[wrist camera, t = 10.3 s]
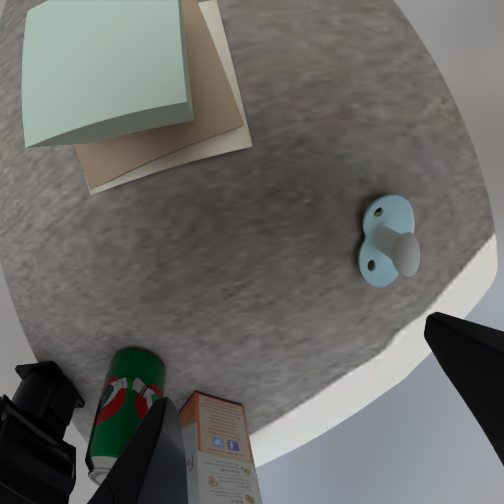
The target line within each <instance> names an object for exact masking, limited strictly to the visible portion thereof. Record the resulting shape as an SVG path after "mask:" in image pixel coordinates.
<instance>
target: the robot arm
mask: <svg viewBox="0 0 504 504" xmlns="http://www.w3.org/2000/svg"><path fill="white" fill-rule="evenodd" d="M424 337H425V340H426V341H427V343H428V345H429V347H430V348H431V350H432V352H433V353H434V355H435V357H436V359H437V360H438V362H439V364H440V366H441V367H442V369H443V371H444V372H445V374H446V375H447V376H448V378H449V379H450V381H451V382H452V384H453V385H454V386H455V388H456V389H457V391H458V392H459V394H460V395H461V397H462V398H463V400H464V401H465V403H466V404H467V406H468V407H469V409H470V410H471V412H472V413H473V415H474V417H475V418H476V420H477V421H478V423H479V424H480V426H481V428H482V429H483V431H484V432H485V434H486V436H487V438H488V439H489V441H490V443H491V444H492V446H493V448H494V450H495V452H496V453H497V455H498V457H499V459H500V460H501V462H502V464H503V466H504V332H503V331H500V330H496V329H493V328H490V327H487V326H483V325H480V324H476V323H473V322H470V321H467V320H463V319H460V318H457V317H453V316H450V315H447V314H443V313H440V312H434V313H432V314H430V315H429V316H428V317H427V319H426V324H425V330H424ZM15 370H16V372H17V373H18V375H19V376H20V377H21V379H22V381H21V383H20V385H19V387H18V389H17V391H16V393H15V395H14V397H13V399H12V401H11V400H10V399H9V398H8V397H7V396H6V395H5V394H4V395H3V396H2V397H0V504H68V502H69V495H70V494H71V492H72V491H73V488H74V486H75V482H76V447H74V446H73V445H70V444H68V443H67V442H65V441H63V437H64V434H65V430H66V427H67V426H69V424H70V421H71V418H72V415H73V411H74V408H84V405H85V403H84V401H83V400H82V399H81V398H80V396H79V395H78V394H77V393H76V391H75V390H74V389H73V388H72V386H71V385H70V384H69V382H68V381H67V380H66V378H65V377H64V375H63V374H62V373H61V371H60V370H59V368H58V367H57V365H56V364H55V363H53V362H44V363H35V364H26V365H17V366H16V368H15ZM87 504H189V503H188V488H187V469H186V454H185V448H184V441H183V435H182V428H181V421H180V415H179V412H178V411H177V409H176V408H175V406H174V404H173V403H172V401H171V400H170V399H169V398H168V397H163V398H157V399H156V400H155V401H154V402H153V404H152V405H151V407H150V408H149V410H148V411H147V413H146V415H145V416H144V418H143V419H142V421H141V422H140V424H139V426H138V427H137V429H136V430H135V432H134V433H133V435H132V436H131V438H130V440H129V441H128V443H127V444H126V446H125V447H124V449H123V451H122V452H121V454H120V455H119V457H118V458H117V460H116V461H115V463H114V465H113V466H112V468H111V469H110V471H109V472H108V474H107V476H106V478H105V479H104V480H103V482H102V483H101V485H100V486H99V488H98V489H97V491H96V492H95V494H94V495H93V497H92V498H91V499H90V500H89V502H88V503H87Z"/></svg>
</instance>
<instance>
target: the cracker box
mask: <svg viewBox="0 0 504 504" xmlns="http://www.w3.org/2000/svg"><path fill="white" fill-rule="evenodd" d="M179 415H180V421H181V428H182V435H183V441H184V448H185V454H186V469H187V488H188V503H189V504H263V503H262V499H261V494H260V489H259V485H258V479H257V474H256V469H255V464H254V459H253V454H252V449H251V444H250V439H249V433H248V428H247V423H246V417H245V412H244V407H243V406H241V405H237V404H233V403H230V402H227V401H223V400H220V399H216V398H213V397H209V396H206V395H203V394H200V393H197V392H194V394H193V396H192V397H191V398H190V400H189V401H188V402H187V404H186V405H185V406H184V408H183V409H182V410H181V412H180V413H179Z"/></svg>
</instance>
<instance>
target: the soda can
mask: <svg viewBox="0 0 504 504" xmlns="http://www.w3.org/2000/svg"><path fill="white" fill-rule="evenodd" d="M165 377H166V373H165V369H164V367H163V365H162V364H161V363H160V362H159V361H158V360H157V359H156V358H155V357H154V356H152V355H150V354H149V353H147V352H144V351H141V350H125V351H121V352H119V353H117V354H116V355H115V356H114V357H113V358H112V360H111V363H110V366H109V369H108V373H107V376H106V379H105V382H104V386H103V389H102V393H101V396H100V400H99V404H98V407H97V411H96V415H95V419H94V423H93V427H92V431H91V435H90V439H89V444H88V448H87V453H86V458H85V463H86V465H87V467H88V469H89V473H88V476H89V478H90V479H91V480H92V481H93V482H94V483H95V484H97V485H99V486H100V485H101V483H102V482H103V480H104V479H105V478H106V476H107V474H108V472H109V471H110V469H111V468H112V466H113V465H114V463H115V461H116V460H117V458H118V457H119V455H120V454H121V452H122V451H123V449H124V447H125V446H126V444H127V443H128V441H129V440H130V438H131V436H132V435H133V433H134V432H135V430H136V429H137V427H138V426H139V424H140V422H141V421H142V419H143V418H144V416H145V415H146V413H147V411H148V410H149V408H150V407H151V405H152V404H153V402H154V401H155V400H156V399H157V398H163V397H164V389H165Z"/></svg>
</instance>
